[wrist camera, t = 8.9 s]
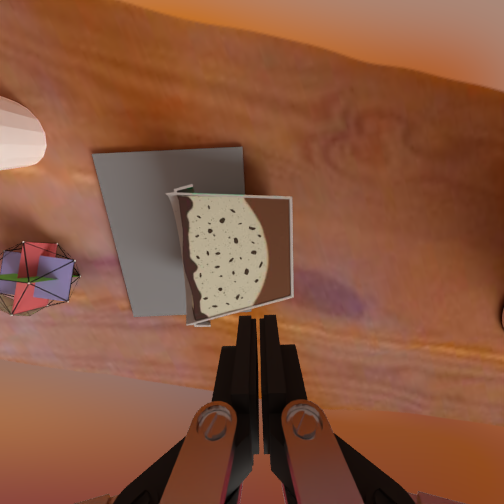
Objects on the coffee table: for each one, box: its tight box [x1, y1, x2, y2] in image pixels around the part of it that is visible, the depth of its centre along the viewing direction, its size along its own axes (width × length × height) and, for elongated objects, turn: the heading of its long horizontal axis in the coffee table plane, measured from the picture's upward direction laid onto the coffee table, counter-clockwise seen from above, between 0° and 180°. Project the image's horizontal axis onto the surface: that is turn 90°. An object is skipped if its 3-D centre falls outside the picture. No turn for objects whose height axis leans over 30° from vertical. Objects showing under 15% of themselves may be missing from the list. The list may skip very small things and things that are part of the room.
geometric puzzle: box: [0, 241, 81, 316], centre depth 24 cm, size 7×7×8 cm
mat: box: [92, 147, 251, 317], centre depth 26 cm, size 14×18×1 cm
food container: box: [165, 184, 294, 327], centre depth 23 cm, size 12×6×10 cm
